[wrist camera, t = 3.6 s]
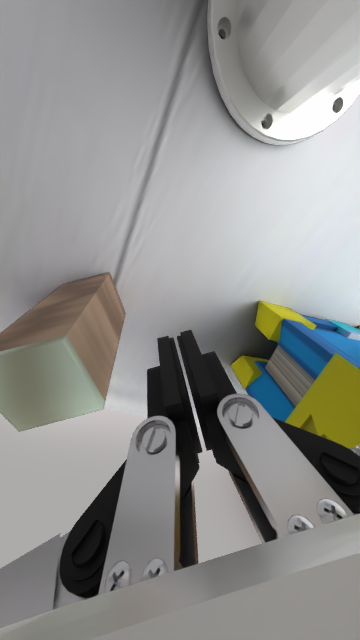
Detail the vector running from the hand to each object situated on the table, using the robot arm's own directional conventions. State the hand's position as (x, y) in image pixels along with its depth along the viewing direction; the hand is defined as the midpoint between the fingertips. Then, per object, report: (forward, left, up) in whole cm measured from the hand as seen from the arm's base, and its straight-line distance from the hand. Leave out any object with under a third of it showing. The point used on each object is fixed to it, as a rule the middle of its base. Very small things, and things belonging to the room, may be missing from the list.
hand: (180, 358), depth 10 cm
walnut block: (+7, 0, -12) cm, 14 cm away
